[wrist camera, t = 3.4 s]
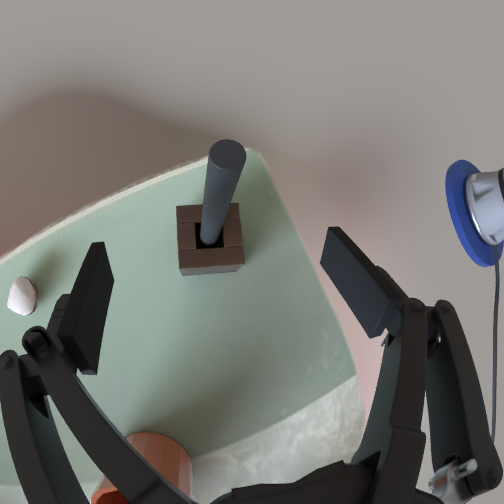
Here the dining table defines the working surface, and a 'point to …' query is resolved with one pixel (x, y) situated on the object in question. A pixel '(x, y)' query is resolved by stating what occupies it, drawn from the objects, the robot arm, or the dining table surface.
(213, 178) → the rod
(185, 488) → the tumbler
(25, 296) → the white seashell
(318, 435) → the dining table surface
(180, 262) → the holder
